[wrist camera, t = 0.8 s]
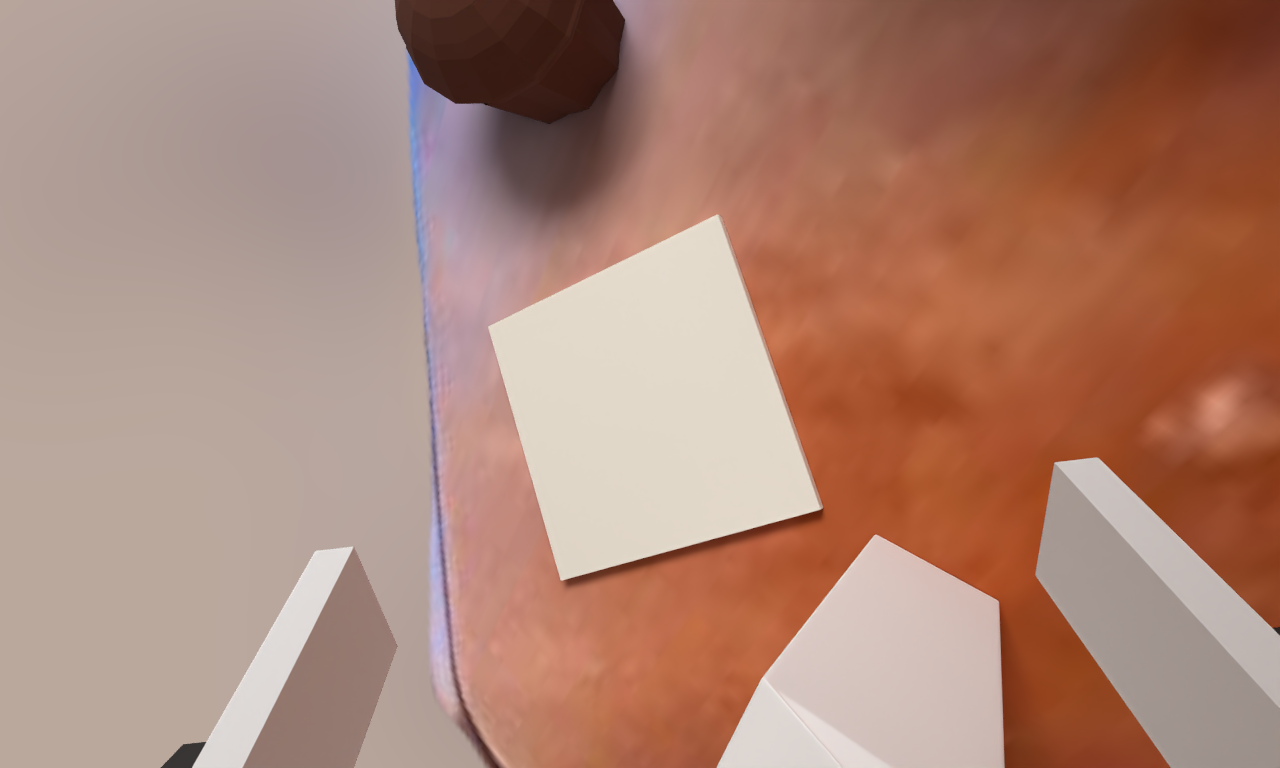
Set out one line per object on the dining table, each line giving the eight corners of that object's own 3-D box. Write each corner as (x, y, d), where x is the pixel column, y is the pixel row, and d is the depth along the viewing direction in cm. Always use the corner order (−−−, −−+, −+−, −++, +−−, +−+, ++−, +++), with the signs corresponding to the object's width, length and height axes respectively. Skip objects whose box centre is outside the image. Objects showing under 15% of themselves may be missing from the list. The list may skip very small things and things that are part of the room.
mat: (721, 216, 38) (717, 214, 37) (823, 507, 35) (820, 509, 35) (494, 327, 44) (488, 326, 44) (566, 578, 42) (560, 580, 41)
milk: (1000, 600, 32) (1026, 954, 12) (938, 710, 33) (867, 1201, 13) (872, 531, 34) (718, 731, 14) (818, 636, 35) (606, 956, 16)
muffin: (661, -59, 39) (563, -190, 30) (632, 142, 40) (529, 73, 31) (491, -37, 45) (366, -143, 36) (469, 141, 45) (341, 81, 36)
